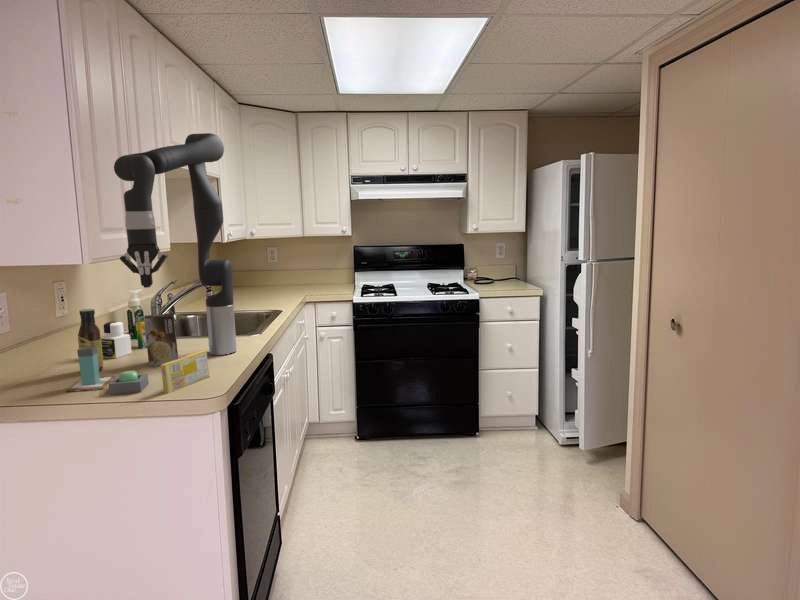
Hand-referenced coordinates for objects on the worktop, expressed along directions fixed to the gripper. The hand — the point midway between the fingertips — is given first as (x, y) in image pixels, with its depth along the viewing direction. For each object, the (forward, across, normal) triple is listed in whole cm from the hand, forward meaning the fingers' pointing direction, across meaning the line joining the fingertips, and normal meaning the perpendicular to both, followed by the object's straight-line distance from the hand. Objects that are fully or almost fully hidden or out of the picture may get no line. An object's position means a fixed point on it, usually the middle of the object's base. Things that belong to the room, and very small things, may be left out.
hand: (147, 287), depth 153 cm
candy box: (+28, -10, +9) cm, 31 cm away
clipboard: (+28, +17, +3) cm, 33 cm away
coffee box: (+29, +2, -18) cm, 34 cm away
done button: (+27, +5, +10) cm, 29 cm away
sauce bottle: (+28, +22, -13) cm, 38 cm away
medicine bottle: (+29, +21, -33) cm, 49 cm away
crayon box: (+30, +14, -45) cm, 56 cm away
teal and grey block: (+27, +17, +4) cm, 32 cm away
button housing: (+27, +5, +10) cm, 29 cm away
